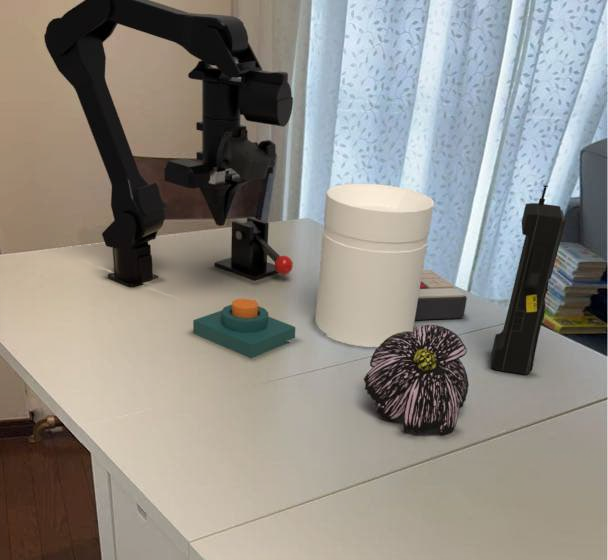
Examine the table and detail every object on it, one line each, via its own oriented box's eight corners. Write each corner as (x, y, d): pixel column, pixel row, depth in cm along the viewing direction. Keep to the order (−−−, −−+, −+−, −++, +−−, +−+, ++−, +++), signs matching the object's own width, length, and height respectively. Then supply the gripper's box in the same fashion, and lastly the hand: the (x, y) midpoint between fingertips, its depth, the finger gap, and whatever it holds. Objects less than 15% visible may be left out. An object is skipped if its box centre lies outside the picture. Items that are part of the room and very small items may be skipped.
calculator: (432, 267, 145) (468, 292, 133) (429, 291, 148) (464, 318, 136) (376, 268, 142) (408, 294, 130) (373, 292, 145) (404, 320, 133)
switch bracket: (283, 274, 147) (286, 224, 142) (254, 283, 142) (256, 232, 137) (243, 260, 152) (244, 212, 147) (214, 268, 147) (214, 219, 142)
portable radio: (531, 379, 118) (578, 202, 103) (490, 373, 119) (531, 196, 104) (530, 358, 125) (574, 188, 110) (491, 352, 125) (530, 182, 110)
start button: (226, 314, 120) (226, 302, 119) (244, 307, 123) (244, 296, 122) (245, 321, 118) (246, 310, 117) (263, 315, 121) (264, 304, 120)
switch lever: (292, 276, 143) (298, 261, 141) (280, 280, 141) (287, 265, 139) (247, 233, 145) (253, 218, 143) (235, 236, 143) (241, 221, 141)
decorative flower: (354, 354, 97) (409, 288, 104) (334, 415, 107) (385, 350, 114) (459, 414, 95) (506, 342, 102) (429, 470, 105) (474, 401, 112)
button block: (193, 333, 122) (193, 308, 120) (237, 317, 129) (238, 293, 126) (251, 358, 117) (252, 332, 114) (294, 340, 123) (296, 315, 121)
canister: (301, 334, 125) (312, 200, 113) (331, 302, 138) (344, 178, 126) (400, 354, 122) (421, 219, 110) (422, 320, 134) (443, 194, 122)
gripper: (216, 132, 109) (215, 249, 118) (302, 121, 121) (295, 227, 130) (160, 118, 114) (163, 230, 123) (248, 108, 126) (245, 211, 136)
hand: (220, 225), depth 128 cm, fingers closed
